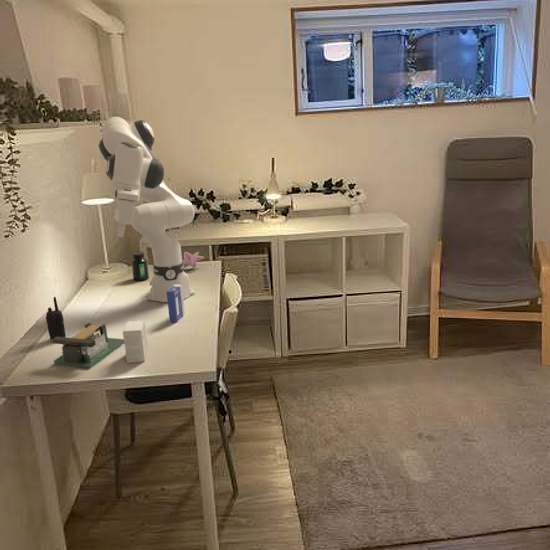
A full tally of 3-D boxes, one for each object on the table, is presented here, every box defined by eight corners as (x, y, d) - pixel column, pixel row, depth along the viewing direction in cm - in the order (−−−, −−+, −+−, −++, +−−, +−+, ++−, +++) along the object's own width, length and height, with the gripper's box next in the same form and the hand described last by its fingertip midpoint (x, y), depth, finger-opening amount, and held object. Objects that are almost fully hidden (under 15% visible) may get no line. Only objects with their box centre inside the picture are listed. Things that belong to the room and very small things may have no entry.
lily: (209, 269, 267) (202, 250, 268) (204, 266, 255) (197, 247, 257) (185, 278, 268) (179, 259, 269) (179, 276, 256) (172, 256, 257)
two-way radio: (67, 335, 194) (60, 295, 190) (65, 341, 190) (57, 299, 186) (50, 337, 193) (43, 296, 189) (47, 342, 189) (40, 300, 185)
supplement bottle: (146, 281, 250) (143, 255, 246) (131, 281, 250) (128, 255, 247) (150, 276, 256) (147, 251, 253) (135, 277, 257) (132, 251, 253)
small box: (131, 352, 179) (127, 321, 176) (148, 350, 179) (145, 320, 176) (126, 363, 172) (122, 331, 168) (145, 361, 172) (141, 330, 169)
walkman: (177, 322, 201) (173, 290, 198) (169, 322, 202) (166, 290, 198) (185, 314, 209) (182, 283, 205) (178, 314, 209) (175, 283, 206)
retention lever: (76, 323, 183) (52, 339, 172) (113, 326, 179) (90, 343, 168) (77, 327, 184) (52, 343, 173) (114, 330, 179) (91, 347, 168)
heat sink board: (91, 339, 190) (88, 316, 188) (125, 342, 186) (121, 319, 184) (54, 364, 173) (49, 339, 171) (90, 368, 169) (86, 343, 167)
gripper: (112, 191, 188) (108, 233, 189) (117, 192, 169) (112, 238, 170) (132, 194, 190) (127, 235, 192) (139, 195, 171) (133, 240, 173)
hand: (120, 236), depth 181 cm, fingers closed
